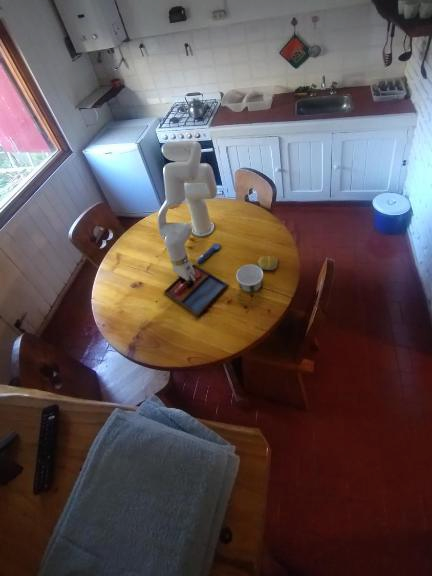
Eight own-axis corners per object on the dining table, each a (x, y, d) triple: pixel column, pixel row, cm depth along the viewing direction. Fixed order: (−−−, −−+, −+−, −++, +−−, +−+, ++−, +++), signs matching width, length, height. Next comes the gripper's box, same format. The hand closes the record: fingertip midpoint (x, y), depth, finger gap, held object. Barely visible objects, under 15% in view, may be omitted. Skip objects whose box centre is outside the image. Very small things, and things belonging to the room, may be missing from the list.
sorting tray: (164, 293, 162) (163, 291, 160) (194, 266, 172) (193, 263, 171) (198, 317, 149) (197, 314, 147) (228, 286, 159) (227, 283, 158)
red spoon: (179, 298, 157) (177, 294, 156) (172, 293, 160) (171, 290, 159) (202, 275, 166) (201, 271, 164) (196, 271, 168) (195, 267, 167)
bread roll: (259, 257, 170) (259, 251, 167) (278, 259, 167) (277, 253, 165) (257, 270, 164) (256, 264, 161) (276, 272, 161) (275, 266, 158)
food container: (268, 289, 154) (267, 279, 150) (243, 298, 153) (241, 288, 149) (258, 270, 163) (257, 261, 159) (234, 278, 162) (232, 269, 158)
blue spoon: (201, 266, 171) (200, 263, 170) (194, 263, 174) (193, 259, 172) (221, 247, 179) (221, 243, 178) (215, 244, 182) (214, 240, 180)
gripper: (198, 259, 149) (205, 286, 160) (172, 245, 159) (181, 271, 170) (186, 271, 145) (194, 298, 156) (160, 255, 155) (170, 281, 166)
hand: (187, 284), depth 163 cm, fingers open, 3 cm apart
